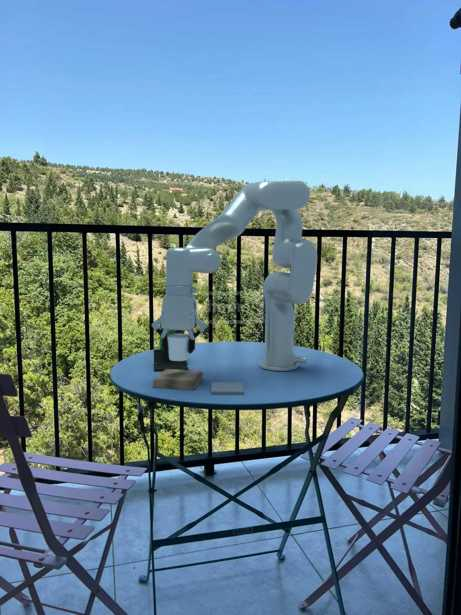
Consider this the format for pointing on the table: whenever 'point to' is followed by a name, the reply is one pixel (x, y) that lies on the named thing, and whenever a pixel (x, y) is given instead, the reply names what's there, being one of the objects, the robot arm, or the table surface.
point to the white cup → (178, 347)
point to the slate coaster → (227, 388)
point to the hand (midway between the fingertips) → (178, 351)
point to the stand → (178, 379)
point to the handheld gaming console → (167, 362)
